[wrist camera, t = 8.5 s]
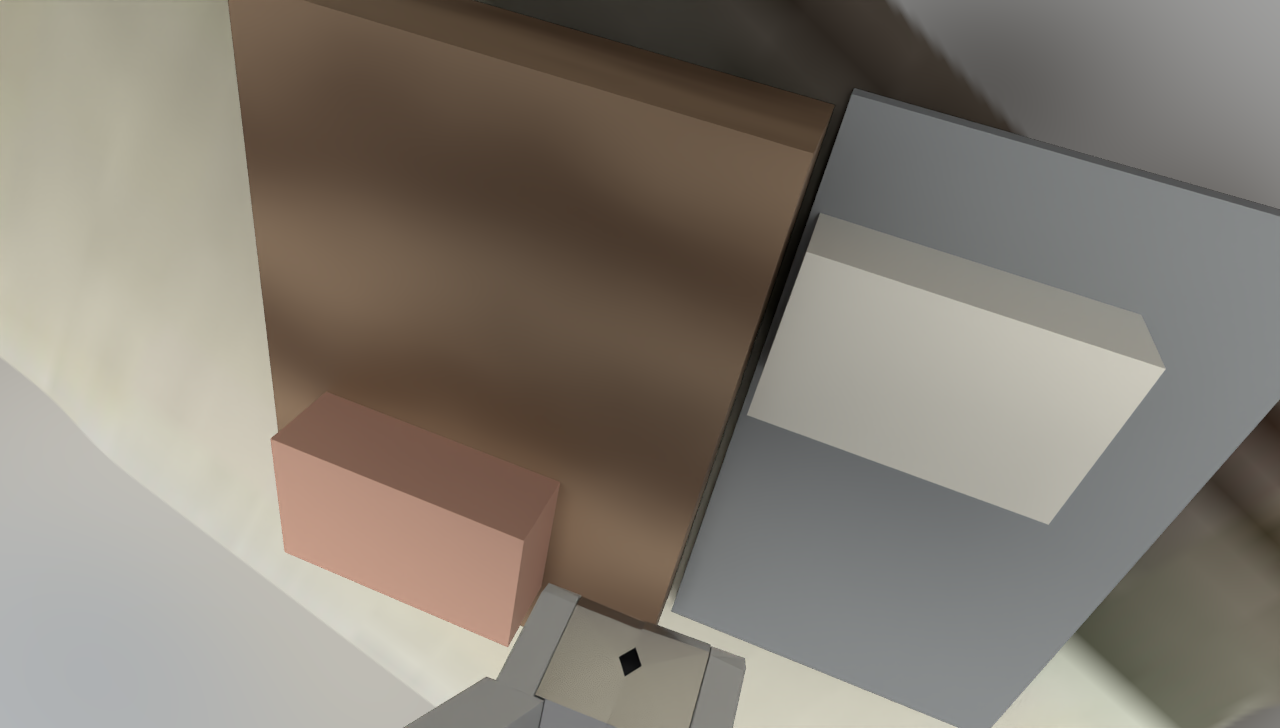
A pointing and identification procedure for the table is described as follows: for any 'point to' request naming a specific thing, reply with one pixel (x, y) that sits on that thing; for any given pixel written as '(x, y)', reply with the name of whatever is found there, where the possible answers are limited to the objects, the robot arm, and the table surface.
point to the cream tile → (952, 368)
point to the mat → (949, 520)
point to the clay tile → (414, 515)
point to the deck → (521, 250)
